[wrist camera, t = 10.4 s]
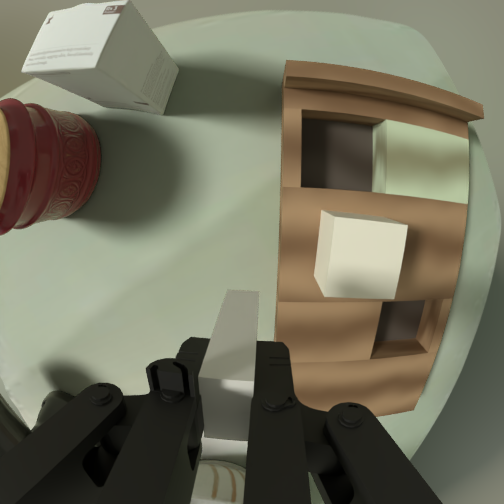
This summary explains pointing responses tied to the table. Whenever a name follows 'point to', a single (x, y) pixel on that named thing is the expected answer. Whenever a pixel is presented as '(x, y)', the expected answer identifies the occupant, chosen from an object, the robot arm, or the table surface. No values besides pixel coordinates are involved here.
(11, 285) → the table surface
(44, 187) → the canister
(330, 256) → the block
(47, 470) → the robot arm
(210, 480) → the decorative bowl
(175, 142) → the table surface
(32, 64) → the skincare box
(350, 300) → the board
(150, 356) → the table surface
